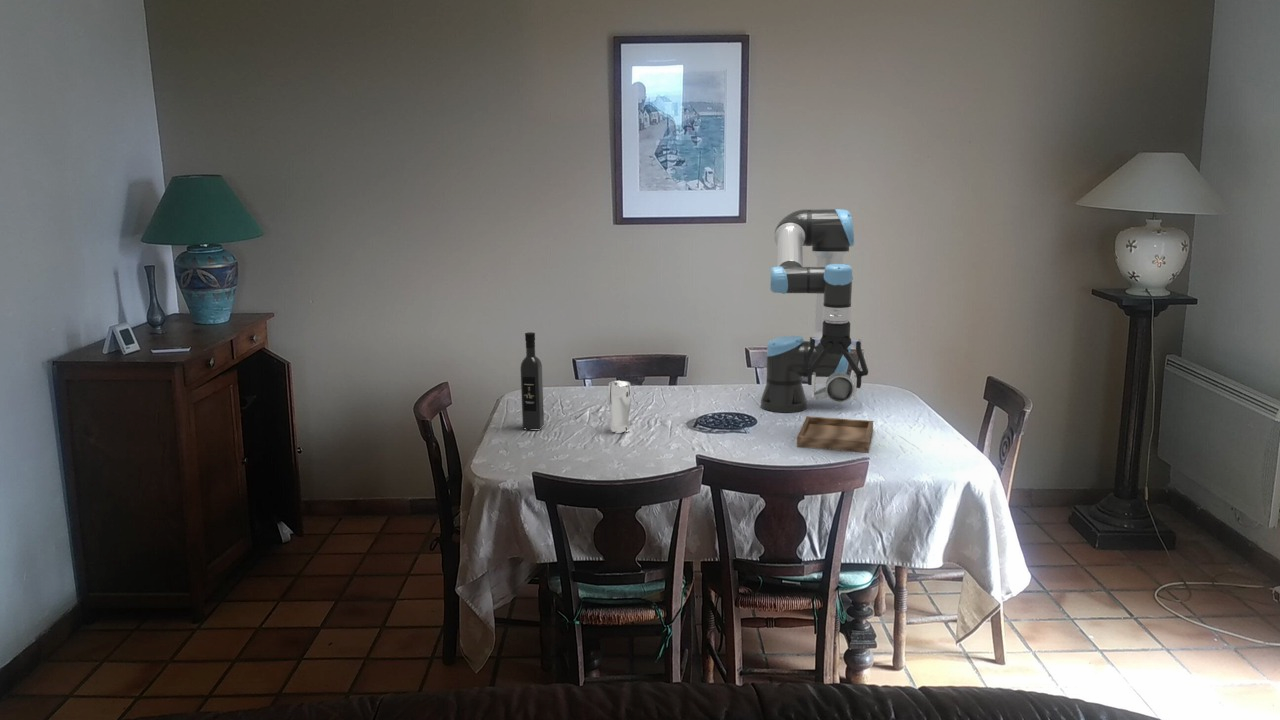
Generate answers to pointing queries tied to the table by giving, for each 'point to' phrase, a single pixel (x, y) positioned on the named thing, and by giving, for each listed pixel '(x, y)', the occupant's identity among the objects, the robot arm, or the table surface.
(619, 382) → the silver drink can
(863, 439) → the walnut tray
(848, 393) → the ceramic mug
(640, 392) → the table surface
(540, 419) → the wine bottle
